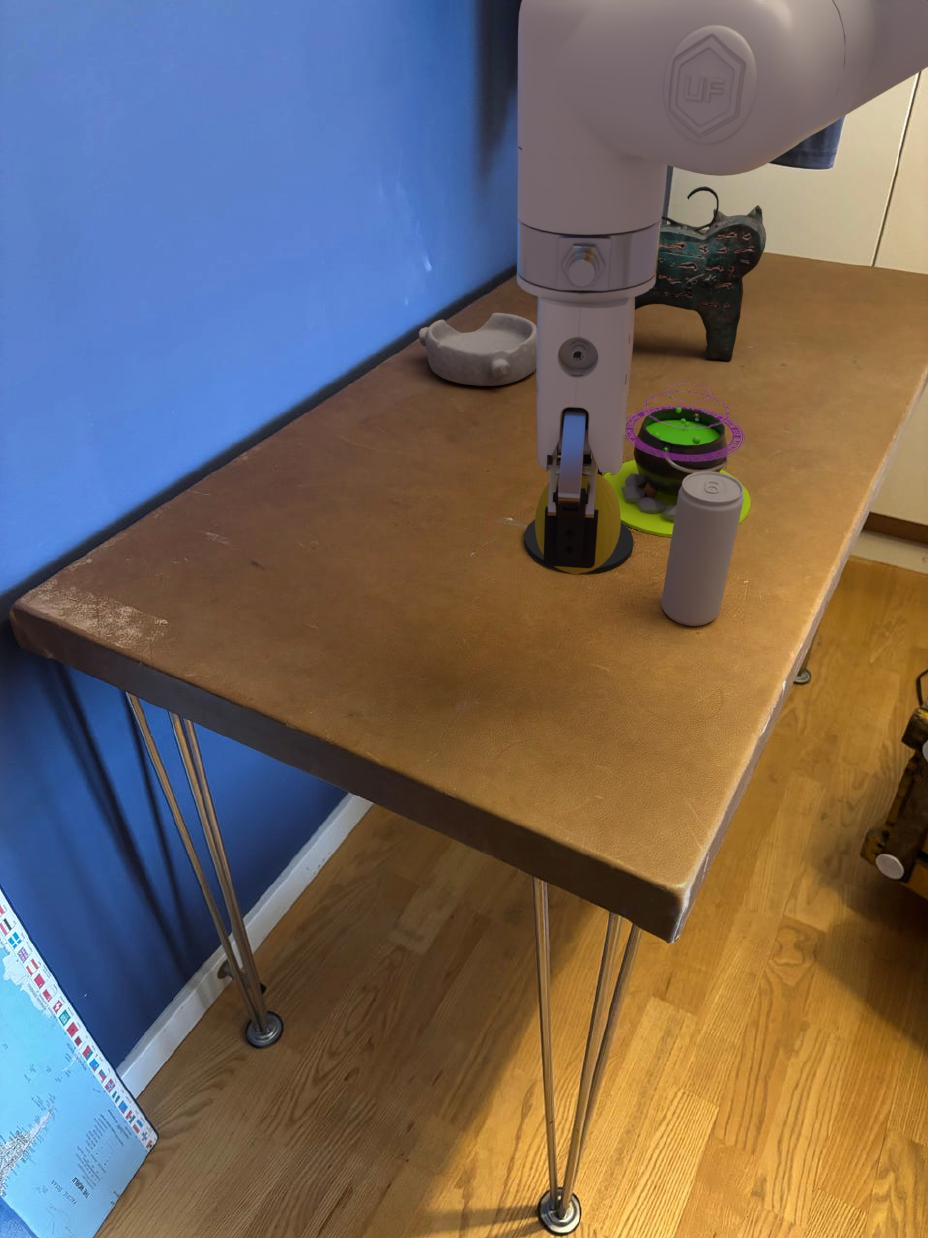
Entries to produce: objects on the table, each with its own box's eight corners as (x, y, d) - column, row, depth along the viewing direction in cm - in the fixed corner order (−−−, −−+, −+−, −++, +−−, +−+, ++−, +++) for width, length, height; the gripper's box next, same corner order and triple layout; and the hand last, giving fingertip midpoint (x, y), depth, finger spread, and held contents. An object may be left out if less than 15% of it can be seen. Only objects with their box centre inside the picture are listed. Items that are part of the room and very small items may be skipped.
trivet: (607, 506, 89) (608, 501, 89) (651, 563, 82) (651, 558, 81) (510, 522, 87) (510, 517, 87) (545, 582, 79) (545, 576, 79)
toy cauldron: (721, 555, 82) (743, 445, 76) (571, 510, 89) (579, 405, 82) (770, 482, 92) (793, 379, 85) (632, 446, 99) (644, 348, 92)
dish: (407, 364, 116) (404, 326, 113) (491, 338, 123) (492, 301, 120) (476, 403, 107) (476, 363, 104) (564, 373, 114) (566, 334, 111)
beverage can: (656, 623, 75) (676, 497, 67) (664, 589, 78) (683, 466, 71) (716, 633, 74) (743, 506, 66) (721, 599, 77) (747, 475, 70)
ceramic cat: (744, 349, 119) (775, 184, 106) (744, 369, 114) (776, 198, 102) (593, 336, 123) (606, 176, 110) (586, 355, 118) (598, 189, 105)
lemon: (520, 584, 61) (521, 478, 56) (554, 543, 65) (558, 441, 60) (598, 606, 59) (606, 498, 54) (628, 562, 62) (638, 458, 58)
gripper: (659, 310, 42) (627, 621, 53) (657, 211, 55) (632, 476, 66) (496, 306, 43) (498, 612, 54) (533, 209, 56) (529, 471, 67)
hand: (572, 535), depth 60 cm, fingers closed on lemon, 5 cm apart
